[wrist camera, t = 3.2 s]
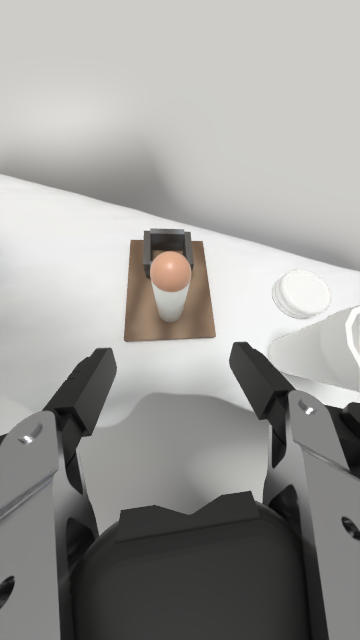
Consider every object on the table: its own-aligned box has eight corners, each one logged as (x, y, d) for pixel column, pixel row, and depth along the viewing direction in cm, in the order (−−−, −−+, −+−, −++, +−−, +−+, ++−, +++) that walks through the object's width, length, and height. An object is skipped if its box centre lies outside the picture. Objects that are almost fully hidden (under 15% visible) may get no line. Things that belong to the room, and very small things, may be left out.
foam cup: (249, 348, 25) (326, 334, 13) (281, 322, 27) (373, 288, 15) (287, 394, 23) (421, 430, 11) (318, 362, 25) (460, 361, 13)
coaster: (315, 287, 31) (333, 278, 28) (313, 326, 28) (333, 321, 24) (273, 272, 31) (286, 261, 28) (267, 308, 28) (280, 301, 25)
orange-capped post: (158, 323, 24) (146, 279, 12) (158, 300, 25) (147, 240, 13) (182, 322, 24) (196, 279, 12) (181, 300, 26) (192, 241, 13)
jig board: (126, 341, 24) (114, 335, 19) (132, 244, 30) (124, 221, 26) (213, 337, 25) (224, 331, 20) (201, 245, 32) (207, 224, 27)
